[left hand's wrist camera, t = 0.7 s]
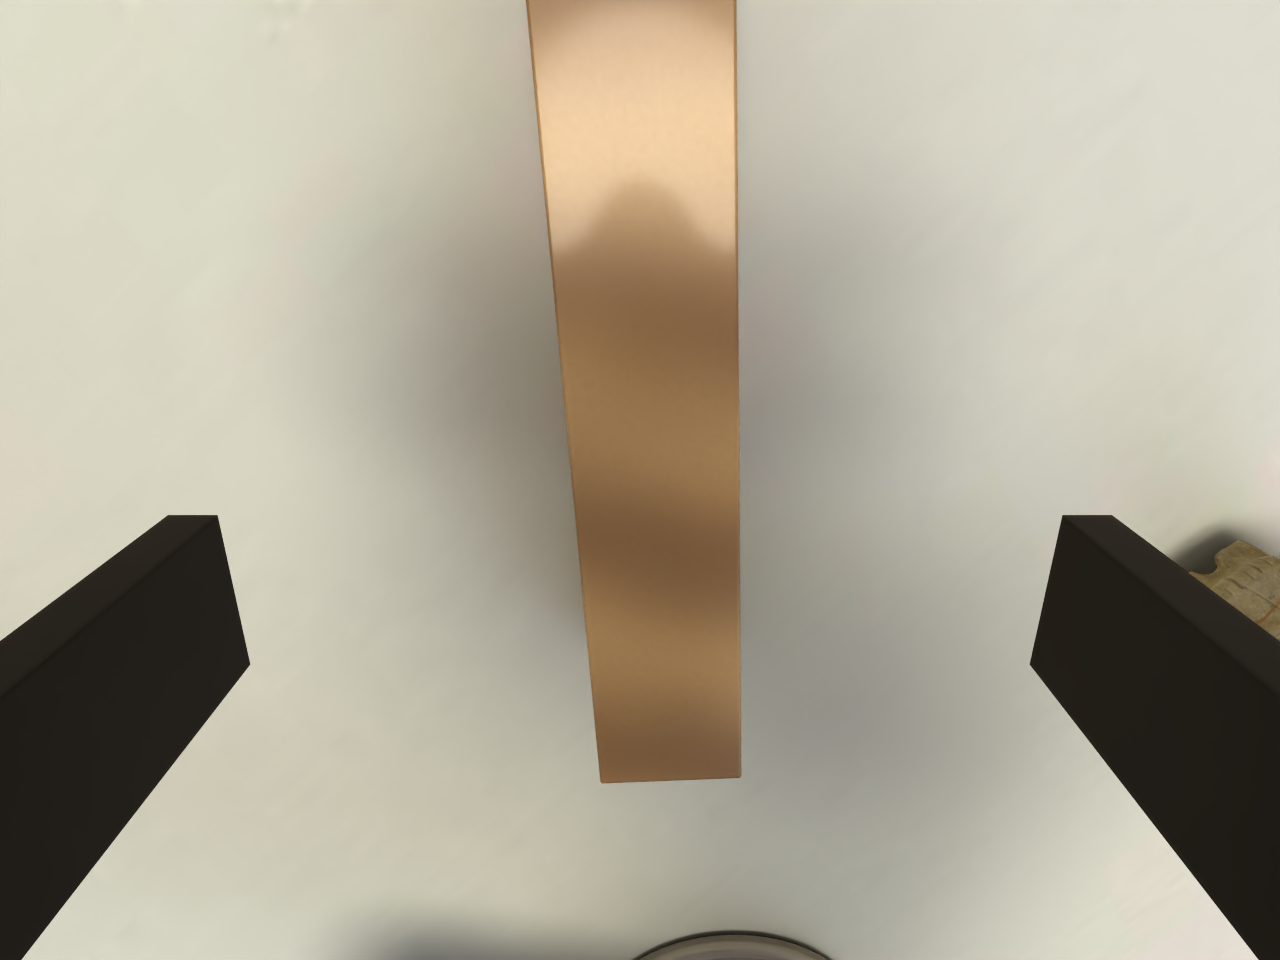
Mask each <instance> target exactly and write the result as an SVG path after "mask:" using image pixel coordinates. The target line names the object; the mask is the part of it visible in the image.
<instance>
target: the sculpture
mask: <svg viewBox="0 0 1280 960" xmlns="http://www.w3.org/2000/svg"><path fill="white" fill-rule="evenodd" d="M1214 562H1215V564H1216V565H1217V569H1216V570H1215V571H1214V572H1213V573H1211V574H1200V573H1196V572H1193V571H1190V572H1188V573H1190V574H1191V575H1192V576H1194V577H1195V578H1196V579H1198V580H1199V581H1200V582H1202V583H1203V584H1204V585H1206V586H1207V587H1208V588H1210V589H1211V590H1212V591H1214V592H1215V593H1216V594H1218V595H1219V596H1220V597H1222V598H1223V599H1224V600H1226V601H1227V602H1228V603H1230V604H1231V605H1232V606H1234V607H1235V608H1236V609H1238V610H1239V611H1240V612H1242V613H1243V614H1244V615H1246V616H1247V617H1248V618H1250V619H1251V620H1252V621H1254V622H1255V623H1256V624H1258V625H1259V626H1260V627H1262V628H1263V629H1264V630H1266V631H1267V632H1268V633H1270V634H1271V635H1272V636H1274V637H1275V638H1276V639H1278V640H1279V641H1280V559H1279V558H1277V557H1273V556H1269V555H1268V554H1266V553H1264V552H1263V551H1261V550H1259V549H1258V548H1256V547H1254V546H1252V545H1250V544H1248V543H1246V542H1243V541H1235V542H1234V543H1232V544H1231V545H1229V546H1228V547H1226V548H1224V549H1222V550H1221V551H1219V552H1218V553H1217V554H1216V555H1215V557H1214Z"/></svg>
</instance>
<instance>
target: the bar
mask: <svg viewBox="0 0 1280 960" xmlns="http://www.w3.org/2000/svg"><path fill="white" fill-rule="evenodd" d="M526 6H527V16H528V27H529V37H530V48H531V58H532V69H533V79H534V90H535V100H536V111H537V121H538V132H539V142H540V153H541V163H542V174H543V184H544V195H545V205H546V216H547V226H548V237H549V247H550V258H551V268H552V279H553V289H554V300H555V310H556V321H557V331H558V342H559V352H560V363H561V373H562V384H563V394H564V405H565V415H566V426H567V436H568V446H569V457H570V467H571V478H572V488H573V499H574V509H575V520H576V530H577V541H578V551H579V562H580V572H581V583H582V593H583V604H584V614H585V625H586V635H587V646H588V656H589V667H590V677H591V688H592V698H593V709H594V719H595V730H596V740H597V751H598V761H599V772H600V781H601V783H622V782H647V781H672V780H697V779H722V778H740V777H741V656H740V497H739V339H738V180H737V21H736V0H526Z"/></svg>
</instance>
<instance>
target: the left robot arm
mask: <svg viewBox="0 0 1280 960" xmlns="http://www.w3.org/2000/svg"><path fill="white" fill-rule="evenodd" d="M249 665H250V661H249V657H248V652H247V648H246V643H245V638H244V634H243V629H242V625H241V620H240V616H239V611H238V607H237V602H236V597H235V593H234V588H233V584H232V579H231V575H230V570H229V566H228V561H227V556H226V552H225V547H224V543H223V538H222V534H221V529H220V525H219V520H218V515H168V516H166V517H165V518H164V519H162V520H161V521H160V522H158V523H157V524H156V525H154V526H153V527H152V528H150V529H149V530H148V531H146V532H145V533H144V534H142V535H141V536H140V537H138V538H137V539H136V540H134V541H133V542H132V543H130V544H129V545H128V546H126V547H125V548H124V549H122V550H121V551H120V552H118V553H117V554H116V555H114V556H113V557H112V558H110V559H109V560H108V561H106V562H105V563H104V564H102V565H101V566H100V567H98V568H97V569H96V570H94V571H93V572H92V573H90V574H89V575H88V576H86V577H85V578H84V579H82V580H81V581H80V582H78V583H77V584H76V585H74V586H73V587H72V588H70V589H69V590H68V591H66V592H65V593H64V594H62V595H61V596H60V597H58V598H57V599H56V600H54V601H53V602H52V603H50V604H49V605H48V606H46V607H45V608H44V609H42V610H41V611H40V612H38V613H37V614H36V615H34V616H33V617H32V618H30V619H29V620H28V621H26V622H25V623H24V624H22V625H21V626H20V627H18V628H17V629H16V630H14V631H13V632H12V633H10V634H9V635H8V636H6V637H5V638H4V639H2V640H1V641H0V960H21V959H22V958H23V957H24V956H25V954H26V953H27V952H28V950H29V949H30V948H31V947H32V945H33V944H34V943H35V941H36V940H37V939H38V938H39V936H40V935H41V934H42V932H43V931H44V930H45V928H46V927H47V926H48V925H49V923H50V922H51V921H52V919H53V918H54V917H55V916H56V914H57V913H58V912H59V910H60V909H61V908H62V907H63V905H64V904H65V903H66V901H67V900H68V899H69V898H70V896H71V895H72V894H73V892H74V891H75V890H76V889H77V887H78V886H79V885H80V883H81V882H82V881H83V879H84V878H85V877H86V876H87V874H88V873H89V872H90V870H91V869H92V868H93V867H94V865H95V864H96V863H97V861H98V860H99V859H100V858H101V856H102V855H103V854H104V852H105V851H106V850H107V849H108V847H109V846H110V845H111V843H112V842H113V841H114V839H115V838H116V837H117V836H118V834H119V833H120V832H121V830H122V829H123V828H124V827H125V825H126V824H127V823H128V821H129V820H130V819H131V818H132V816H133V815H134V814H135V812H136V811H137V810H138V809H139V807H140V806H141V805H142V803H143V802H144V801H145V799H146V798H147V797H148V796H149V794H150V793H151V792H152V790H153V789H154V788H155V787H156V785H157V784H158V783H159V781H160V780H161V779H162V778H163V776H164V775H165V774H166V772H167V771H168V770H169V769H170V767H171V766H172V765H173V763H174V762H175V761H176V759H177V758H178V757H179V756H180V754H181V753H182V752H183V750H184V749H185V748H186V747H187V745H188V744H189V743H190V741H191V740H192V739H193V738H194V736H195V735H196V734H197V732H198V731H199V730H200V729H201V727H202V726H203V725H204V723H205V722H206V721H207V719H208V718H209V717H210V716H211V714H212V713H213V712H214V710H215V709H216V708H217V707H218V705H219V704H220V703H221V701H222V700H223V699H224V698H225V696H226V695H227V694H228V692H229V691H230V690H231V689H232V687H233V686H234V685H235V683H236V682H237V681H238V680H239V678H240V677H241V676H242V674H243V673H244V672H245V670H246V669H247V668H248V667H249ZM1030 665H1031V667H1032V668H1033V669H1034V670H1035V672H1036V673H1037V674H1038V676H1039V677H1040V678H1041V679H1042V681H1043V682H1044V683H1045V685H1046V686H1047V687H1048V689H1049V690H1050V691H1051V692H1052V694H1053V695H1054V696H1055V698H1056V699H1057V700H1058V701H1059V703H1060V704H1061V705H1062V707H1063V708H1064V709H1065V710H1066V712H1067V713H1068V714H1069V716H1070V717H1071V718H1072V719H1073V721H1074V722H1075V723H1076V725H1077V726H1078V727H1079V729H1080V730H1081V731H1082V732H1083V734H1084V735H1085V736H1086V738H1087V739H1088V740H1089V741H1090V743H1091V744H1092V745H1093V747H1094V748H1095V749H1096V750H1097V752H1098V753H1099V754H1100V756H1101V757H1102V758H1103V759H1104V761H1105V762H1106V763H1107V765H1108V766H1109V767H1110V769H1111V770H1112V771H1113V772H1114V774H1115V775H1116V776H1117V778H1118V779H1119V780H1120V781H1121V783H1122V784H1123V785H1124V787H1125V788H1126V789H1127V790H1128V792H1129V793H1130V794H1131V796H1132V797H1133V798H1134V799H1135V801H1136V802H1137V803H1138V805H1139V806H1140V807H1141V809H1142V810H1143V811H1144V812H1145V814H1146V815H1147V816H1148V818H1149V819H1150V820H1151V821H1152V823H1153V824H1154V825H1155V827H1156V828H1157V829H1158V830H1159V832H1160V833H1161V834H1162V836H1163V837H1164V838H1165V839H1166V841H1167V842H1168V843H1169V845H1170V846H1171V847H1172V849H1173V850H1174V851H1175V852H1176V854H1177V855H1178V856H1179V858H1180V859H1181V860H1182V861H1183V863H1184V864H1185V865H1186V867H1187V868H1188V869H1189V870H1190V872H1191V873H1192V874H1193V876H1194V877H1195V878H1196V879H1197V881H1198V882H1199V883H1200V885H1201V886H1202V887H1203V889H1204V890H1205V891H1206V892H1207V894H1208V895H1209V896H1210V898H1211V899H1212V900H1213V901H1214V903H1215V904H1216V905H1217V907H1218V908H1219V909H1220V910H1221V912H1222V913H1223V914H1224V916H1225V917H1226V918H1227V919H1228V921H1229V922H1230V923H1231V925H1232V926H1233V927H1234V928H1235V930H1236V931H1237V932H1238V934H1239V935H1240V936H1241V938H1242V939H1243V940H1244V941H1245V943H1246V944H1247V945H1248V947H1249V948H1250V949H1251V950H1252V952H1253V953H1254V954H1255V956H1256V957H1257V958H1258V959H1259V960H1280V641H1279V640H1278V639H1276V638H1275V637H1274V636H1272V635H1271V634H1270V633H1268V632H1267V631H1266V630H1264V629H1263V628H1262V627H1260V626H1259V625H1258V624H1256V623H1255V622H1254V621H1252V620H1251V619H1250V618H1248V617H1247V616H1246V615H1244V614H1243V613H1242V612H1240V611H1239V610H1238V609H1236V608H1235V607H1234V606H1232V605H1231V604H1230V603H1228V602H1227V601H1226V600H1224V599H1223V598H1222V597H1220V596H1219V595H1218V594H1216V593H1215V592H1214V591H1212V590H1211V589H1210V588H1208V587H1207V586H1206V585H1204V584H1203V583H1202V582H1200V581H1199V580H1198V579H1196V578H1195V577H1194V576H1192V575H1191V574H1190V573H1188V572H1187V571H1186V570H1184V569H1183V568H1182V567H1180V566H1179V565H1178V564H1176V563H1175V562H1174V561H1172V560H1171V559H1170V558H1168V557H1167V556H1166V555H1164V554H1163V553H1162V552H1160V551H1159V550H1158V549H1156V548H1155V547H1154V546H1152V545H1151V544H1150V543H1148V542H1147V541H1146V540H1144V539H1143V538H1142V537H1140V536H1139V535H1138V534H1136V533H1135V532H1134V531H1132V530H1131V529H1130V528H1128V527H1127V526H1126V525H1124V524H1123V523H1122V522H1120V521H1119V520H1118V519H1116V518H1115V517H1114V516H1112V515H1062V520H1061V525H1060V529H1059V534H1058V538H1057V543H1056V547H1055V552H1054V556H1053V561H1052V566H1051V570H1050V575H1049V579H1048V584H1047V588H1046V593H1045V597H1044V602H1043V607H1042V611H1041V616H1040V620H1039V625H1038V629H1037V634H1036V638H1035V643H1034V648H1033V652H1032V657H1031V661H1030ZM639 960H827V959H825V958H824V957H822V956H820V955H819V954H817V953H815V952H813V951H811V950H809V949H806V948H804V947H801V946H799V945H796V944H792V943H789V942H786V941H782V940H778V939H773V938H768V937H761V936H751V935H717V936H708V937H701V938H696V939H691V940H686V941H683V942H679V943H676V944H673V945H670V946H667V947H664V948H661V949H659V950H657V951H655V952H653V953H650V954H648V955H647V956H645V957H643V958H641V959H639Z"/></svg>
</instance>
